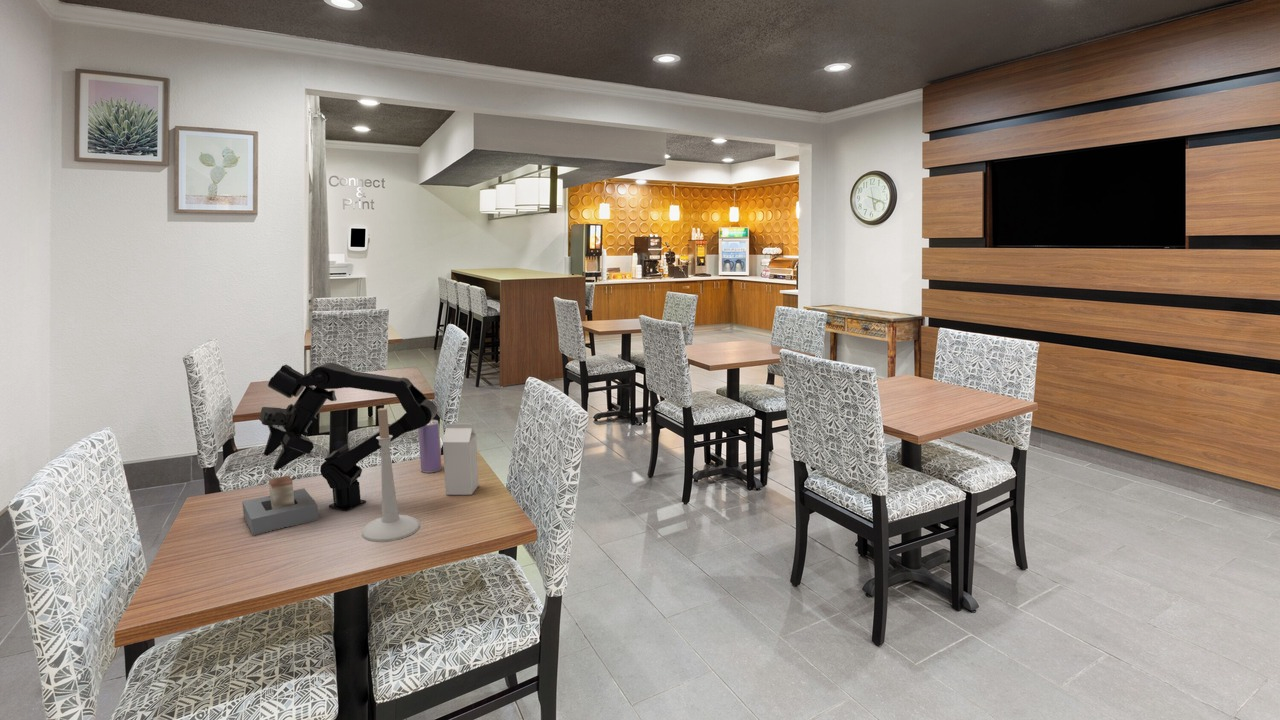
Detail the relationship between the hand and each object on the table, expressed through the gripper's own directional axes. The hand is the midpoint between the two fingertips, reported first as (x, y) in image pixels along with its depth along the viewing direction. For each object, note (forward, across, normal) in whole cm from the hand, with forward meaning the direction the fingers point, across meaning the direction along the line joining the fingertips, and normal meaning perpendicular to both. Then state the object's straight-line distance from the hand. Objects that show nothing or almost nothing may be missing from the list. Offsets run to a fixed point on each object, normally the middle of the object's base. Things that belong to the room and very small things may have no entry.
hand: (270, 462), depth 158 cm
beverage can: (-12, -3, +44) cm, 46 cm away
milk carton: (-15, +19, +41) cm, 48 cm away
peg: (+10, +6, +8) cm, 14 cm away
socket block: (+10, +6, +8) cm, 14 cm away
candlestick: (-2, +30, +20) cm, 37 cm away
